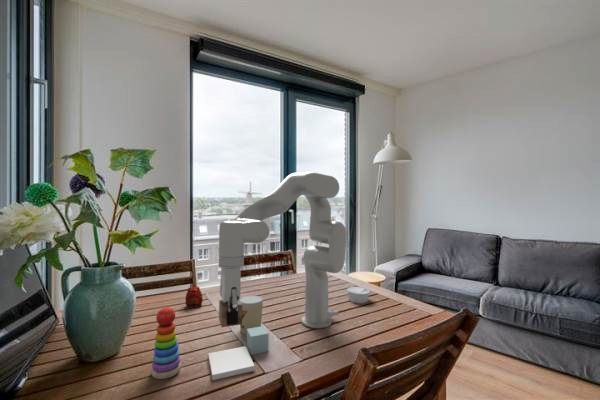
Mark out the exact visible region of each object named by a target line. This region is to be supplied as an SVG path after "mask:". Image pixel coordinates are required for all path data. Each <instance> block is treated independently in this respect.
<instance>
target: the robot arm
mask: <svg viewBox="0 0 600 400" xmlns="http://www.w3.org/2000/svg"><path fill="white" fill-rule="evenodd" d="M339 193H340V184H339V181H338V179H336V177H334V176H333V175H328V174H323V173H319V172H313V171H305V172H292V173H290V174H289V175H287V176H286V177H285V178H284V179H283V180H282V181H281V182H280V183H279V184H278V185H277V187H275V188H274V189H273V190H272V191H271V192H270V193H269V194H268V195H266V196H264V197H262V198H260V199H259V200H257V201H255V202H254V203H252V204H250V205H249V206H248V207H246V208H245V209H244V210H243V211H242V212H241V213H240V214H239V215H238V216H236V217H235V219H234V220H224V221H221V222H220V223H219V227H218V230H219V231H218V234H219V235H218V267H219V268H220V282H219V294H220V297H221V300H223V301H224V302H226V301H228V311H227V325H232V324H237V323H238V300H240V298H241V290H242V288H241V287H242V286H241V284H242V283H241V281H242V280H241V279H242V275H241V274H242V271H241V268H242V267H244V263H245V260H244V259H245V244H259V243H261V244H262V243H263V242H264V241H266V240H267V239H268V238H269V235H270V227H269V226H268V224H267V223H266V222H265V221H264V220H265V219H268V218H272V217H276V216H279V215H281V214H284V213H286V212H287V211H288V210H289V209H290V208H291V207H292V206H293V205H294V203H295V202H296V201H297V200H298V199H299V198H300V197H301V196H304V197H305V198H306V200H307V202H308V204H309V207H310V217H309V230H308V231H309V233H308V234H309V235H308V236H309V239H310V240H312V241H313V242H315V243H319V244H320V243H321V244H326V245H328V247H327V246H323V245H310V246H308V247H306V249H305V250H304V252H303V256H302V257H303V259H302V260H303V265H304V266H303V267H304V271H305V287H304V288H305V292H304V293H305V294H304V295H305V297H304V301H305V302H304V306H305V307H304V315H303V316H301V320H300V321H301V324H302V325H303V326H306V327H308V328H311V329H324V328H328V327H330V326H331V325H332V322H333V320H332V317H336V316H339V311H338V310H334V311H333V309H329V281H330V280H329V276H328V273H332V274H337V273H340V272H341V271H342V270H343V268H344V266H345V261H346V248H347V230H346V227H345V224H343V223H342V222H341V221H338V220H332V219H331V218H332V217H331V216H332V207H331V203H330V202H329V200H328V199H333V198H335V197H336V196H338V194H339ZM229 299H232V300H229ZM231 302H232V304H231V305H230V303H231Z"/></svg>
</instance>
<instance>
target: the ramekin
mask: <svg viewBox="0 0 600 400" xmlns="http://www.w3.org/2000/svg"><path fill="white" fill-rule="evenodd" d="M346 291H347V298H348V300H349V302H351V303H354V302H355V303H354V304H366V303H368V301H369V297H370V293H371V292H370V290H369V289H368V288H366V287H363V286H362V287H361V286H350V287H347V290H346ZM365 302H366V303H365Z"/></svg>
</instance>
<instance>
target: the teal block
mask: <svg viewBox="0 0 600 400" xmlns="http://www.w3.org/2000/svg"><path fill="white" fill-rule="evenodd" d="M246 348H247V350H248V352H249V355H255V354H261V353H265V352H268V351H269V332H268V331H267V329H266V327H265V326H264V325H261V326H260V327H255V328H249V329H247V335H246Z"/></svg>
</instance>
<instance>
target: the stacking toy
mask: <svg viewBox="0 0 600 400" xmlns="http://www.w3.org/2000/svg"><path fill="white" fill-rule="evenodd" d="M155 318H156V322H157V324H158V325H157V327H156V335H155V338H154V339H155V341H154V349H153V353H154V354H153V359H152V363H151V367H152V368H151V376H152V377H153V378H154V379H157V380H165V379H168V378H172V377H174V376H175V375H177V374H178V373H179V372H180V371H181V369H182V362H181V357H180V349H179V342H178V337H177V330H175V329H176V324H175V322H174V320H176V312H175V310H174V309H173V308H171V307H163V308H162V309H161V308H160V310H159V311H158V312H157V313H156V317H155Z"/></svg>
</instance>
